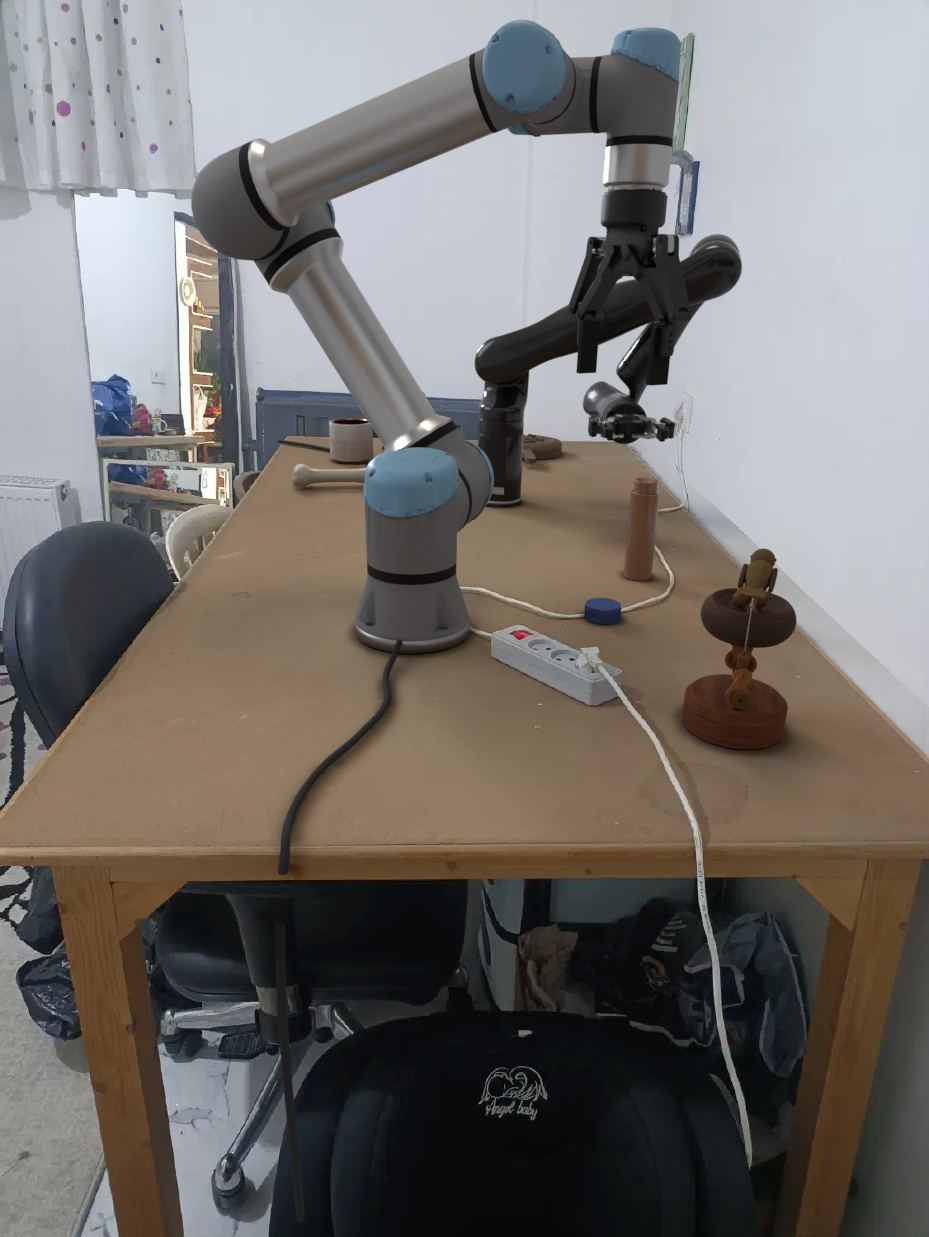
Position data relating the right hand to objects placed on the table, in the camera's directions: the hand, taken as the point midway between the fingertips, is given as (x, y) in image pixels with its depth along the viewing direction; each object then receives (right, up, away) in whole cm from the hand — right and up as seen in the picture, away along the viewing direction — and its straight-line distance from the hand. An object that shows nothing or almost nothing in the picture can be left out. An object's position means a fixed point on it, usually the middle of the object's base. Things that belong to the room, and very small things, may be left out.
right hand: (637, 435), depth 138 cm
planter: (-57, +10, +76) cm, 96 cm away
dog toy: (-56, -1, +50) cm, 75 cm away
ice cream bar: (-12, +12, +82) cm, 84 cm away
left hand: (-9, 0, -31) cm, 32 cm away
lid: (-9, -28, -20) cm, 36 cm away
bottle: (0, -23, -3) cm, 23 cm away
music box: (+1, -41, -46) cm, 62 cm away
